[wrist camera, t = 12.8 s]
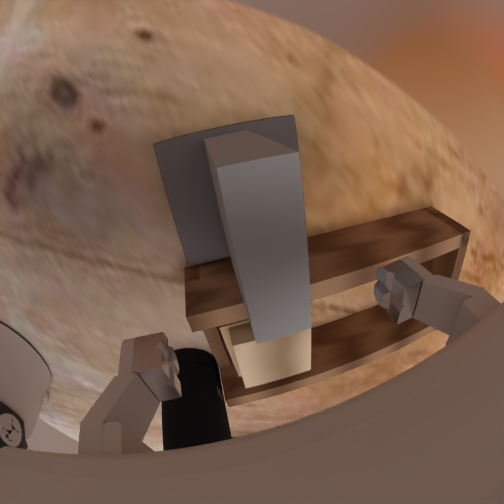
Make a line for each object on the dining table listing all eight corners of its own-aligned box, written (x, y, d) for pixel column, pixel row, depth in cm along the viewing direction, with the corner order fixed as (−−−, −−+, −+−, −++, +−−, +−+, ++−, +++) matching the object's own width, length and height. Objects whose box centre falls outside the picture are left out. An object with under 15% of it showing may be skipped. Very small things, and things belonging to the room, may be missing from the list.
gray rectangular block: (228, 250, 22) (256, 344, 14) (203, 138, 18) (216, 167, 9) (265, 241, 23) (311, 328, 14) (246, 129, 18) (298, 152, 10)
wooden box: (220, 362, 30) (228, 406, 25) (184, 268, 23) (186, 317, 18) (415, 297, 32) (441, 326, 27) (431, 206, 26) (470, 230, 21)
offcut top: (241, 371, 24) (245, 388, 23) (228, 327, 21) (232, 346, 20) (303, 354, 25) (310, 369, 23) (302, 308, 22) (311, 324, 20)
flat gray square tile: (188, 262, 23) (189, 266, 22) (154, 143, 18) (153, 144, 17) (304, 233, 24) (306, 236, 23) (291, 115, 19) (294, 115, 18)
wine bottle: (152, 372, 29) (183, 625, 3) (177, 340, 27) (229, 641, 1) (199, 387, 32) (249, 614, 6) (228, 358, 30) (302, 617, 4)
